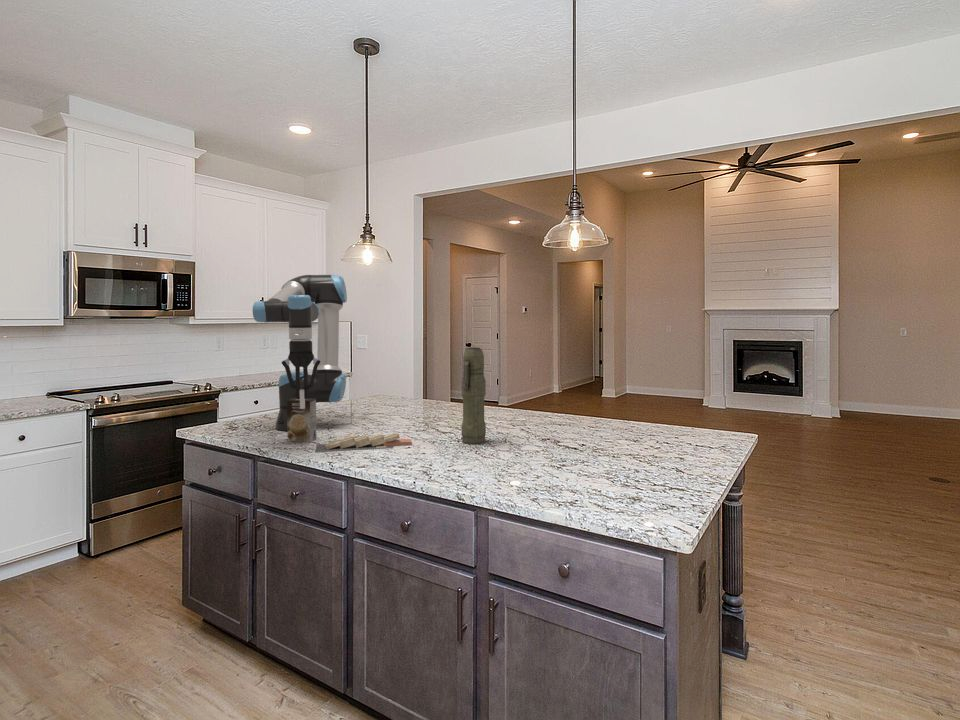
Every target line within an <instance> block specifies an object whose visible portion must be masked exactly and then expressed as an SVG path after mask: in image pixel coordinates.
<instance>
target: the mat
mask: <svg viewBox="0 0 960 720" xmlns="http://www.w3.org/2000/svg"><path fill="white" fill-rule="evenodd" d="M325 445H326V443H322V444H321V443H320V444H319V443H318V444H316V446H315V451H314V453H328V452H329V453H330V452H331V453H332V452H348V451H370V450H385V449H394V446H383V444H379V445H376V446H373V447H372V444H368V445H365V446H362V447H358V448H356V445H353V446H349V447H346V448H342V449H341V447H340V446H337V447H334V448H330V449H327V450H326V447H325Z"/></svg>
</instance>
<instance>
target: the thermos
mask: <svg viewBox="0 0 960 720" xmlns="http://www.w3.org/2000/svg"><path fill="white" fill-rule="evenodd" d="M462 359H463V360H462V361H463V362H462V367H463V368H462V369H463V373H462V374H463V376H462V379H461V396H462V422H461V436H462V439H461V442H462V443H463V444H465V445H482V444H485V443H486V436H487V435H486V428H487V427H486V426H487V425H486V421H485V396H486V393H487V391H486V390H487V389H486V387H487V386H486V385H487V383H486V378H485V372H484V371H485V355H484V351H483V349H482V348H480V347H475V346H474V347H467V348H465V349H464V353H463V356H462Z"/></svg>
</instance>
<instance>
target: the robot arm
mask: <svg viewBox="0 0 960 720" xmlns="http://www.w3.org/2000/svg"><path fill="white" fill-rule="evenodd" d="M347 301H348V293H347V286H346V283H345V280H344V277H343V276H342V275H338V274H337V275H335V274H304V275H300V276H296V277H293V278H292V279H290V280H288V281H286V282H285V283H284V284H283V285H282V287H281V288H280V290H279V291H277V293H275V294H274V295H273V296H271V297H270V298H268V300H259V301H255V302H254V303H253V304H252V317H253V319H254V321H255V322H257V323H265V324H266V323H288V340H290V341H289V342H288V343H289V344H288V345H289V347H288V348H289V354H288V356H287V358H286V359H284V360H282V361H281V365H282V366H283V367H284V370H285V374H284V373H283V374H281V375H280V376H279V378H278V386H277V387H278V397H279V399H278V400H279V402H278V405H279V411H278V414H277V418H276V420H275V430H277V431H283V432H284V431H286V432H287V400H289V399H292V398H297V399H300V409H305V399H307V398H313V399H316V403H329V404H331V403H338V402H341V401H342V400H343V398H344V396H345V392H346V384H347V376H346V375H345V374H344V373H343V370H342V368H340V366H339V346H340V345H339V344H340V341H339V337H340V332H339V331H340V327H339V326H340V310H342V309H343V307H344V304H345V303H347ZM316 320H317V353H316V355H317V357H315V355H314V353H313V352H314V351H313V341H312V339H313V327H312V326H313V325H312V323H313V322H315V321H316ZM311 363H312V364H313V368H312V372H311V374H309V372H308V371H309V370H308V367H309V366H310V364H311ZM290 364H292V366H293V367H294V368H295V370H294V371H295V372H291V371H292V370H291V368H290ZM301 368H302V371H301Z"/></svg>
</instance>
